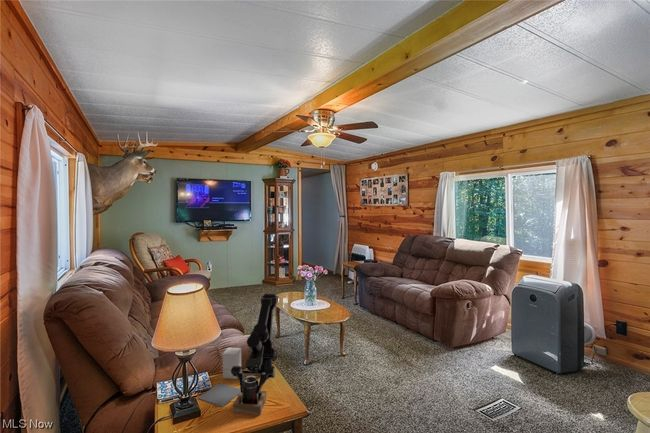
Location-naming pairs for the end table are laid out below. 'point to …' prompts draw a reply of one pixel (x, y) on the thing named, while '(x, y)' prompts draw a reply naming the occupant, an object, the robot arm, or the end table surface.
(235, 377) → the supplement box
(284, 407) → the end table surface
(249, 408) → the pocket frame
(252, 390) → the beverage can
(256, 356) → the robot arm
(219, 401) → the slate mat
